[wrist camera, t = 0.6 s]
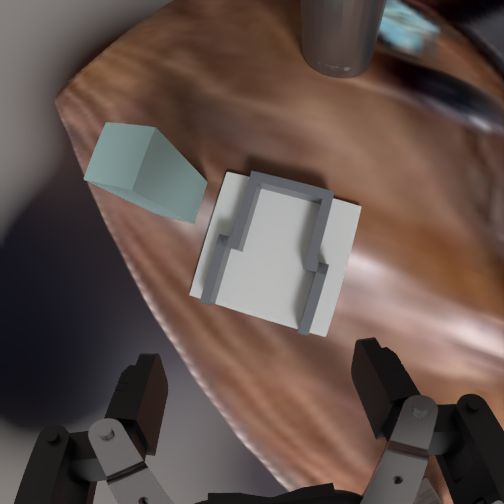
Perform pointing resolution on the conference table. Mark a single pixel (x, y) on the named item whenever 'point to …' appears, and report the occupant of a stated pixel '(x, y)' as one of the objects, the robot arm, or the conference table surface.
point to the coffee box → (427, 494)
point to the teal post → (146, 171)
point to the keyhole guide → (276, 251)
